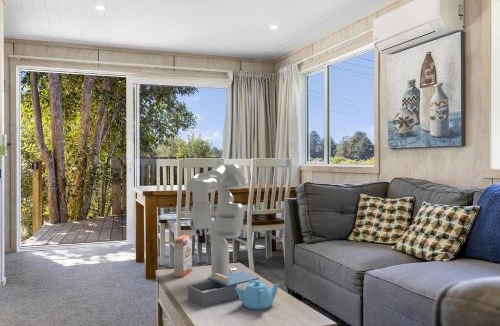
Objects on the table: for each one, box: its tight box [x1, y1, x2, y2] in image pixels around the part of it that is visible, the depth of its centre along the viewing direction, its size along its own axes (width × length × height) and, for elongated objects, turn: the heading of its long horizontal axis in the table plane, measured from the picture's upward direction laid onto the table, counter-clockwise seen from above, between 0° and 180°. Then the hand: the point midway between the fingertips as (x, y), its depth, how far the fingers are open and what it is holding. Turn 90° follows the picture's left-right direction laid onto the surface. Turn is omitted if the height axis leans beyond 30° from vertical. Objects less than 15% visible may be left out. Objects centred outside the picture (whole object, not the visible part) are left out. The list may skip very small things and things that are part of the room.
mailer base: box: [187, 279, 238, 308], centre depth 193 cm, size 18×14×6 cm
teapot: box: [235, 279, 280, 311], centre depth 183 cm, size 15×15×11 cm
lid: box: [212, 270, 260, 287], centre depth 200 cm, size 18×14×3 cm
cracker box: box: [173, 234, 193, 278], centre depth 235 cm, size 14×6×21 cm, turn 168°
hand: (202, 243), depth 200 cm, fingers closed
